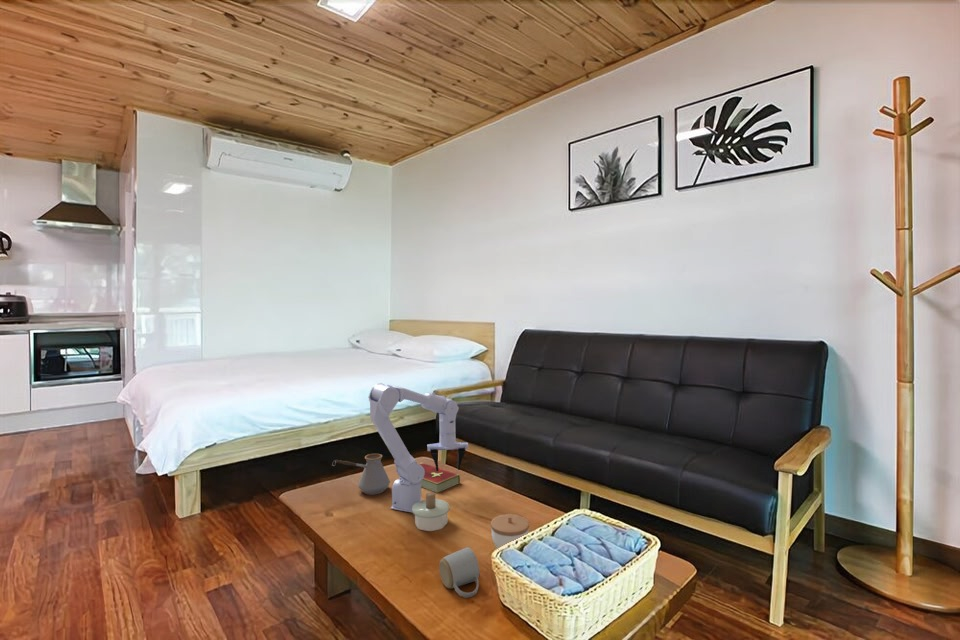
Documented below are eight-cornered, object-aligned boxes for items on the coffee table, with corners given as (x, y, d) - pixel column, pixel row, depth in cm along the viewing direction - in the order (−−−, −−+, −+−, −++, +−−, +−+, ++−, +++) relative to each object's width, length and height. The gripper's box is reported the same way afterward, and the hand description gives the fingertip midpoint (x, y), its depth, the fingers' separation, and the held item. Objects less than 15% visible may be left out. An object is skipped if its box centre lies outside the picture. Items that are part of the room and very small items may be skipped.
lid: (405, 515, 142) (405, 500, 142) (421, 499, 154) (421, 485, 153) (441, 520, 139) (441, 504, 139) (454, 503, 150) (454, 489, 150)
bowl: (410, 527, 144) (410, 513, 144) (425, 514, 153) (424, 501, 153) (437, 532, 141) (437, 518, 140) (451, 519, 149) (450, 505, 149)
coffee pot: (380, 482, 181) (380, 443, 180) (395, 491, 172) (395, 451, 171) (327, 497, 167) (326, 456, 166) (340, 508, 158) (339, 464, 157)
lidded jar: (527, 562, 124) (527, 527, 124) (487, 558, 127) (487, 524, 126) (531, 541, 135) (530, 509, 135) (494, 538, 137) (494, 507, 137)
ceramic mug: (437, 580, 117) (436, 550, 116) (465, 570, 121) (465, 541, 121) (457, 604, 108) (457, 572, 107) (487, 592, 112) (487, 561, 112)
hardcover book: (423, 471, 192) (422, 461, 192) (460, 484, 179) (459, 473, 178) (400, 480, 183) (400, 469, 183) (437, 494, 170) (437, 483, 169)
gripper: (427, 436, 162) (427, 474, 162) (468, 434, 164) (469, 472, 164) (427, 430, 169) (427, 467, 169) (466, 428, 171) (467, 465, 171)
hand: (448, 469), depth 167 cm, fingers open, 7 cm apart
